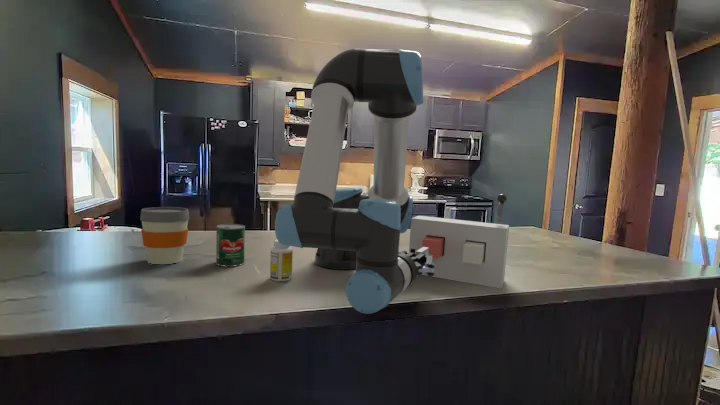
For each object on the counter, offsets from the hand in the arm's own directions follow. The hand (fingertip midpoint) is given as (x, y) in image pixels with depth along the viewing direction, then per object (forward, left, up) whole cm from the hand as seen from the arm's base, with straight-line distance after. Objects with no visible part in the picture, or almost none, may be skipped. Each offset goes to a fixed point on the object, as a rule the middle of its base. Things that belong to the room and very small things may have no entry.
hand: (425, 252), depth 100 cm
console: (+5, +13, -9) cm, 17 cm away
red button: (0, +8, -2) cm, 8 cm away
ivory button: (+11, +8, -2) cm, 14 cm away
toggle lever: (+16, +14, +7) cm, 22 cm away
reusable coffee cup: (-71, -21, -9) cm, 74 cm away
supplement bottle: (-34, -16, -9) cm, 38 cm away
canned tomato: (-55, -12, -9) cm, 57 cm away
